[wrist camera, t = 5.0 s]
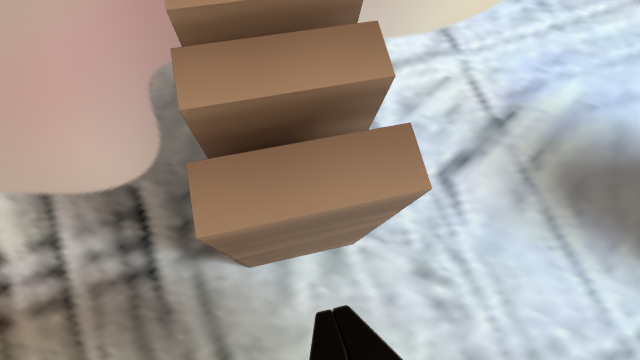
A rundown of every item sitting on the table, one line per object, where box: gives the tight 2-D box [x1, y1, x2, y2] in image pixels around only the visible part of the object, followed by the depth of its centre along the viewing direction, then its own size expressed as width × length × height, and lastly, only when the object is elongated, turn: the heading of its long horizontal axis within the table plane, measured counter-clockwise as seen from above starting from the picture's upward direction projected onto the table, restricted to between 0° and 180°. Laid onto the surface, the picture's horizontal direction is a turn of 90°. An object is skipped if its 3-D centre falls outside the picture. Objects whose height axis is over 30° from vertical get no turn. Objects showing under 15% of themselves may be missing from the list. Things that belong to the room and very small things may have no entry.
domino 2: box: [171, 21, 395, 159], centre depth 13 cm, size 2×5×10 cm, turn 103°
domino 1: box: [186, 123, 432, 268], centre depth 12 cm, size 2×5×10 cm, turn 103°
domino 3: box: [165, 0, 363, 47], centre depth 14 cm, size 2×5×10 cm, turn 103°
